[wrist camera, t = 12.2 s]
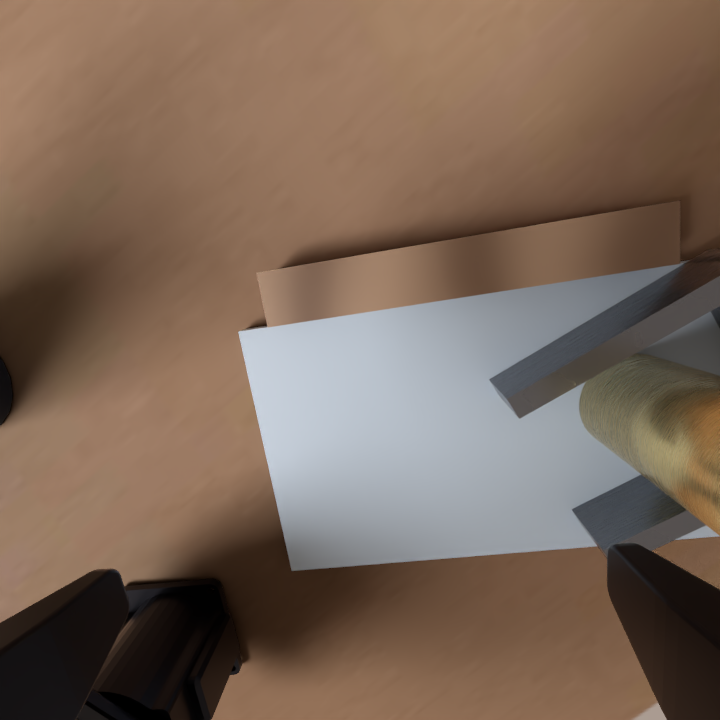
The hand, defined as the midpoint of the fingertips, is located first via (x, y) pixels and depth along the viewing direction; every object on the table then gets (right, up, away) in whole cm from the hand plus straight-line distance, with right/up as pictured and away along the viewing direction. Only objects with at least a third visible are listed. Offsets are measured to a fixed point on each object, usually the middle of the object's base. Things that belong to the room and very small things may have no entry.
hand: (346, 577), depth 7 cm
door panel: (+8, +1, +13) cm, 15 cm away
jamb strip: (+5, +8, +12) cm, 15 cm away
